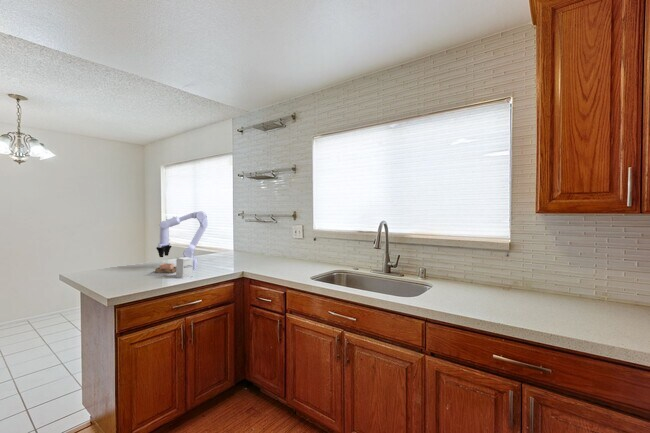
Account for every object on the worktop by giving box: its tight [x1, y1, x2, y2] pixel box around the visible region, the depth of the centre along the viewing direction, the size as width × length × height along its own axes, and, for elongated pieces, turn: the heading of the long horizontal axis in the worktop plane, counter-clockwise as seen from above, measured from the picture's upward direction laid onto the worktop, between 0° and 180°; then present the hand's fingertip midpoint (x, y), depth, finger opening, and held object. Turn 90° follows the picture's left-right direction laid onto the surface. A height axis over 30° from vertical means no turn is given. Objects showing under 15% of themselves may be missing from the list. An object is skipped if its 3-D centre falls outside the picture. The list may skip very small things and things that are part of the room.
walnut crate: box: [154, 266, 176, 275], centre depth 211 cm, size 11×9×3 cm
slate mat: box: [143, 270, 169, 277], centre depth 207 cm, size 13×17×1 cm
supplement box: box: [175, 256, 194, 279], centre depth 199 cm, size 7×7×13 cm
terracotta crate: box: [159, 263, 175, 269], centre depth 211 cm, size 7×5×5 cm
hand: (163, 256), depth 218 cm, fingers open, 7 cm apart
